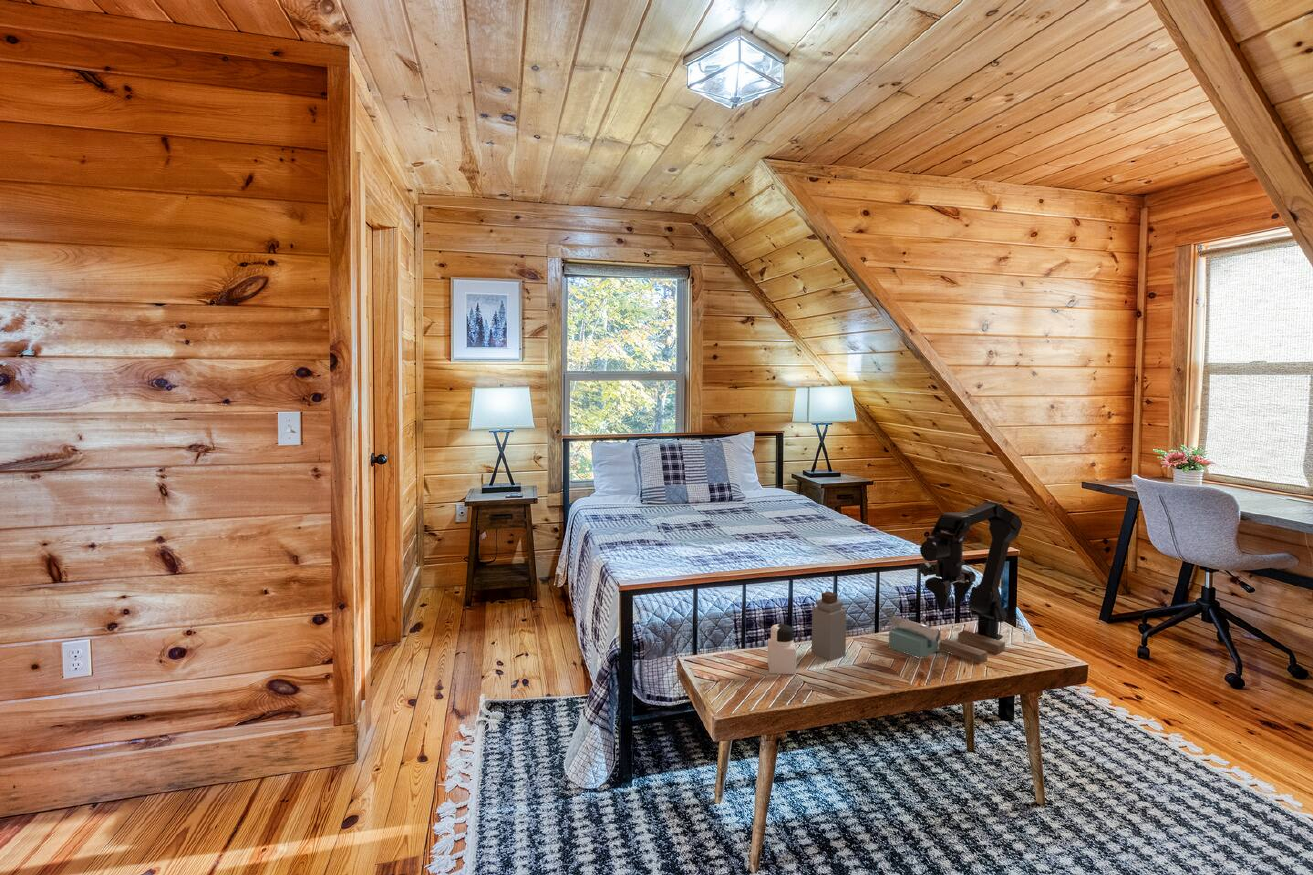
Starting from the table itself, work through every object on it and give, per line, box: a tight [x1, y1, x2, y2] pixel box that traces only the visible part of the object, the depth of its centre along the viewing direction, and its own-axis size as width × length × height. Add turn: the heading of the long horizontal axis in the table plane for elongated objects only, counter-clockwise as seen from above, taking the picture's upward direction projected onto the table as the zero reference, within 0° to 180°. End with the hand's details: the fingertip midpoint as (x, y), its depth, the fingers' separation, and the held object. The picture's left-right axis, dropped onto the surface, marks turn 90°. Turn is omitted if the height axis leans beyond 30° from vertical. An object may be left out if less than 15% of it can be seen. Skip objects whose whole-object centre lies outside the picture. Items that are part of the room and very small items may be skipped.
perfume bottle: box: [811, 590, 847, 662], centre depth 183 cm, size 7×7×18 cm
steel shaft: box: [889, 615, 942, 643], centre depth 187 cm, size 14×4×4 cm, turn 38°
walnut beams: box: [938, 629, 1006, 665], centre depth 187 cm, size 15×12×2 cm
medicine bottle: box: [767, 623, 797, 675], centre depth 174 cm, size 7×7×12 cm
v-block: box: [888, 628, 939, 659], centre depth 187 cm, size 10×10×5 cm
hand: (949, 608), depth 187 cm, fingers open, 9 cm apart
